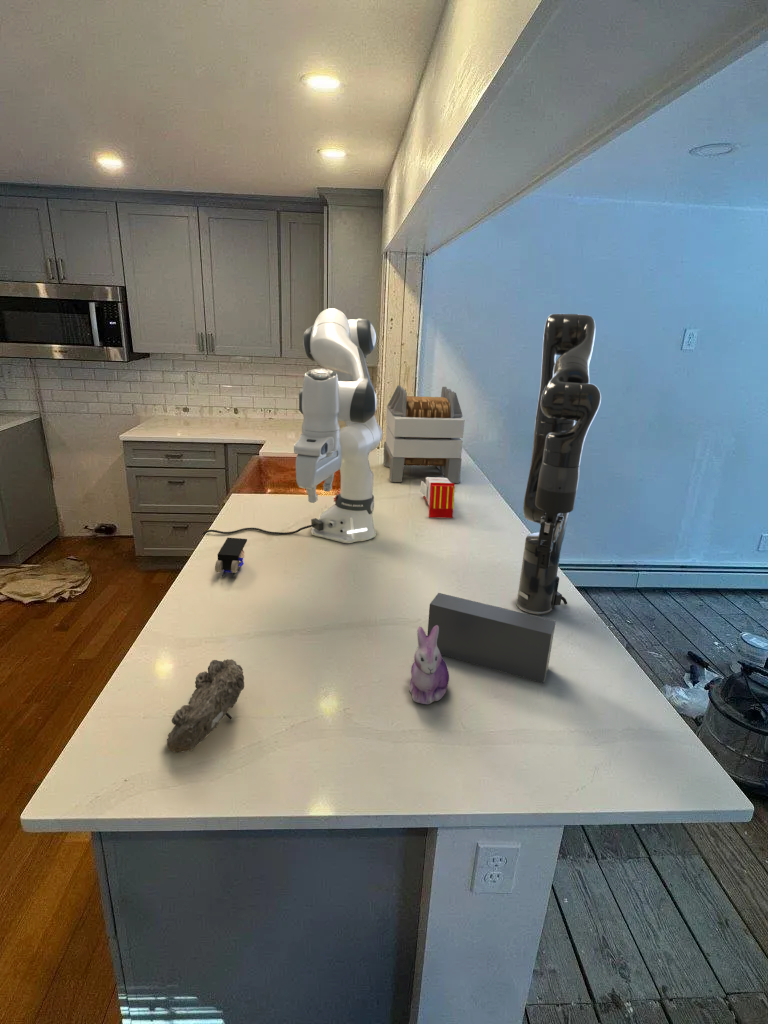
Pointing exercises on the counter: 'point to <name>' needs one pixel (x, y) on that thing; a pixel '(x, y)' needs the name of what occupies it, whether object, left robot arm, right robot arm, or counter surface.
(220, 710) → the fossil
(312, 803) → the counter surface
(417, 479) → the counter surface
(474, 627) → the box
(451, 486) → the toy
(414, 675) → the figurine
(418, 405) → the transformer
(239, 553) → the black toy vehicle
